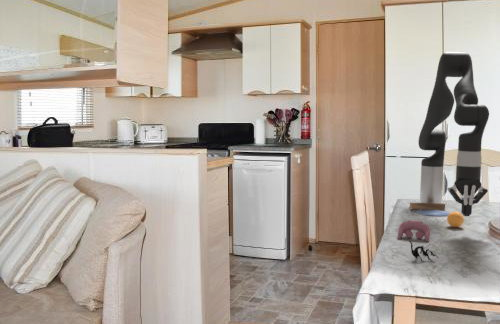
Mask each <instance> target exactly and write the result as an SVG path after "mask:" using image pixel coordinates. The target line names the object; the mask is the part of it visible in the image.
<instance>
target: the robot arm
mask: <svg viewBox="0 0 500 324" xmlns="http://www.w3.org/2000/svg"><path fill="white" fill-rule="evenodd" d="M473 68H474V67H473V60H472V56H471V54H469V53H468V52H464V51H463V52H462V51H461V52H460V51H446V52H443V53H442V54H441V56H440V58H439V61H438V66H437V71H436V77H435V82H434V86H433V90H432V93H431V96H430V99H429V103H428V107H427V110H426V111H427V112H426V116H425V118H424V123H423V125H422V127H421V129H420V133H419V136H418V147H419V149H420V150H422V151H434V153H433V154H432V155H430V156H428V157H424V158H422V159H421V163H420V164H421V166H420V168H421V169H420V189H419V190H420V191H419V203H443V201H442V200H443V183H444V182H443V180H444V163H445V151H446V143H447V137H446V136H447V135H446V131H445V130H443V129H436V127H438V126H440V124H442V123H444V122H445V120H447V119H448V118H449V117H450V115H451V114H452V111H453V108H454V106H455V110H454V115H453V120H454V122H455V123H456V124H457V125H459V126H461V127H462V126H463V127H466V126H467V127H471V126H472V127H474V128H473V130H472V131H469V132H463V133H461V134H459V135H458V145H457V146H458V147H457V156H456V166H455V167H456V169H455V175H456V176H455V181H454V183H453V185H452V186H450V187H448V188H447V191H448V192H449V194H450V195H451V196H452V198H453V199H454V200H455V202H456V203H459V204H461V211H460V212H461V214H462V216H463V217H470V216H471V215H472V208H473V205H475V204H479V202H480V201H481V200H482V198H484V196H485V195H486V194H487V193H488V189H487V188H485V187H483V186H482V181H481V176H482V175H481V173H482V141H483V134H484V132H485V128H486V126H487V124H488V122H489V117H490V111H489V108H488V107H487V106H486V105H485V104H479V97H478V94H477V91H476V88H475V87H476V86H475V83H474V69H473ZM446 78H460V79H459V81H458V82H457V83H456V84H455V86H454V88H453V92H452V90H451V89H450V88H449V86H448V83H447V80H446ZM454 104H455V105H454ZM457 191H458V193H459V195H460V196H459V195H458V194H457Z"/></svg>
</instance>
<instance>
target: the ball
mask: <svg viewBox="0 0 500 324" xmlns="http://www.w3.org/2000/svg"><path fill="white" fill-rule="evenodd" d="M449 213H450V214H449V215H448V216H446V221H447V223H448V225H449V226H450V227H453V228H459V227H461V226H463V223H464V222H465V218H464V215H463V214H462V213H460V212H459V211H452V212H449Z"/></svg>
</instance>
